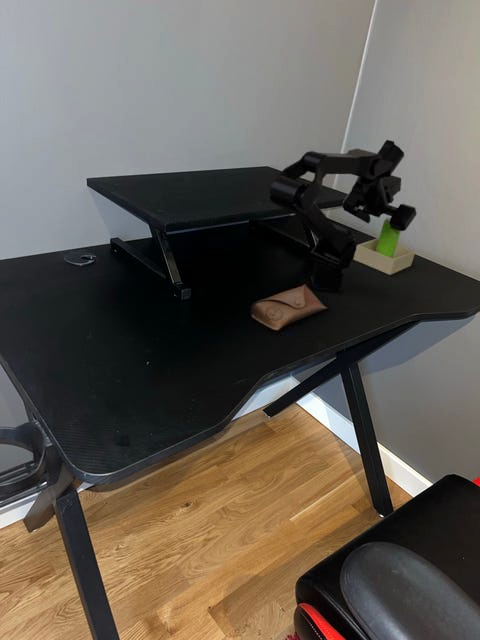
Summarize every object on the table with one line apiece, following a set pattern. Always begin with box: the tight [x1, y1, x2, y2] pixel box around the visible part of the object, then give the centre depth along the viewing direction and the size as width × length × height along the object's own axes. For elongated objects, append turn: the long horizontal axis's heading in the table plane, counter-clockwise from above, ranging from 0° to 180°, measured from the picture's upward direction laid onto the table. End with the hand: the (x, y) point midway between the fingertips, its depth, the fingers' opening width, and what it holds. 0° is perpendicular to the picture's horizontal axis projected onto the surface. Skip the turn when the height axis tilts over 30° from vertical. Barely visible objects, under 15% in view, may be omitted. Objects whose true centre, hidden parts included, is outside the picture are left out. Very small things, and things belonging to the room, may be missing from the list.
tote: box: [353, 237, 416, 276], centre depth 133 cm, size 12×12×4 cm
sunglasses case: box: [249, 283, 328, 331], centre depth 101 cm, size 18×7×7 cm
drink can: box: [376, 217, 402, 259], centre depth 131 cm, size 5×5×12 cm
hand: (383, 227), depth 125 cm, fingers open, 9 cm apart
